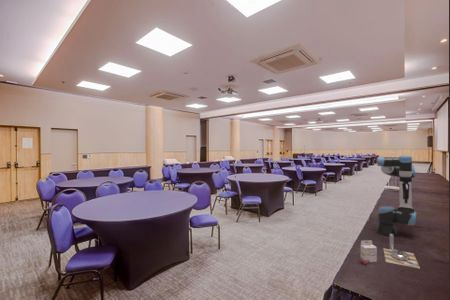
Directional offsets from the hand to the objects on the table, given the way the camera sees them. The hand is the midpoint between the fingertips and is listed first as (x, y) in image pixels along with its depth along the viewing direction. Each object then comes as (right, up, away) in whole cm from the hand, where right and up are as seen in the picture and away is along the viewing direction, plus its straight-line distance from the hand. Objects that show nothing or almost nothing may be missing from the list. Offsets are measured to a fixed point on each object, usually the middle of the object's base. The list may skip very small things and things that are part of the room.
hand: (405, 207), depth 174 cm
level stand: (-14, -33, -13) cm, 39 cm away
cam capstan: (-14, -32, -13) cm, 37 cm away
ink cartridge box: (-38, -35, -15) cm, 53 cm away
